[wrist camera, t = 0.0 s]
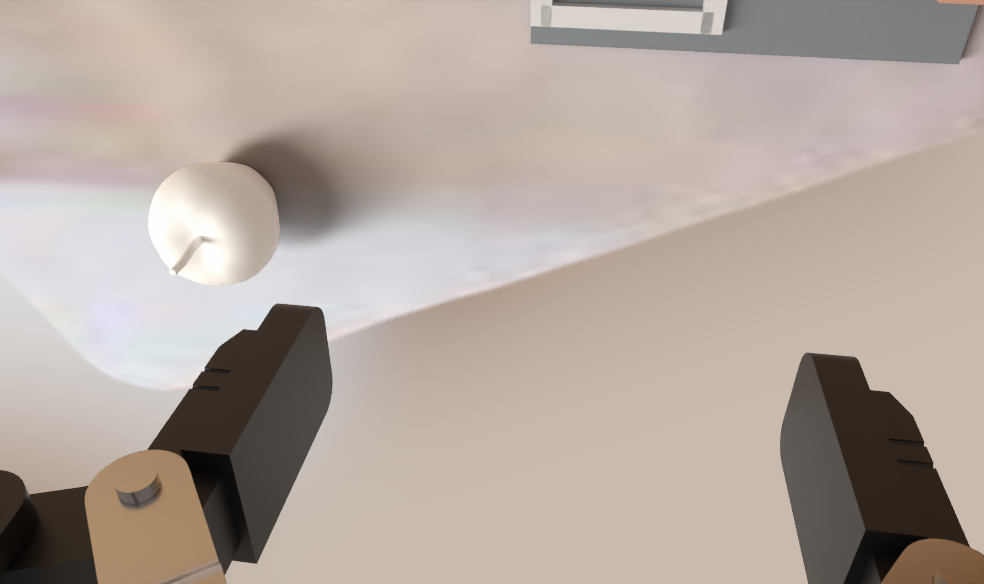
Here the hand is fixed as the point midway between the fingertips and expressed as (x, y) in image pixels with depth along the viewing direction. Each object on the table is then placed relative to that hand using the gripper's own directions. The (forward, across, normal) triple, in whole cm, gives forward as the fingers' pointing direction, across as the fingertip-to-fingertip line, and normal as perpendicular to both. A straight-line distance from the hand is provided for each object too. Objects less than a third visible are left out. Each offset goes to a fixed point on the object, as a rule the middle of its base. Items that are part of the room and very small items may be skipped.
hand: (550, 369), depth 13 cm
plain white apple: (+30, +20, +13) cm, 38 cm away
